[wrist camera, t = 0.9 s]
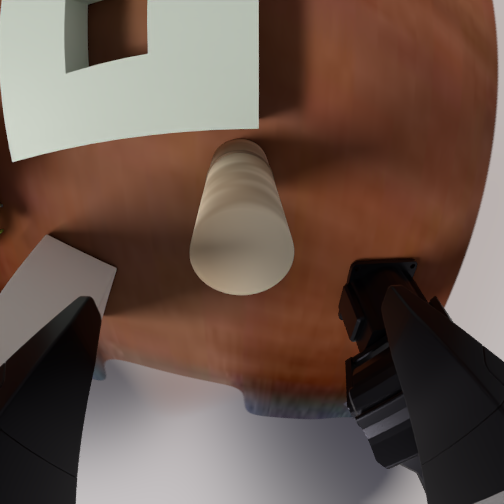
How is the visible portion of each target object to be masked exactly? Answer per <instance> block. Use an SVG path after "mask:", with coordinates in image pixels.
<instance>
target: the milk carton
mask: <svg viewBox="0 0 504 504" xmlns="http://www.w3.org/2000/svg"><path fill="white" fill-rule="evenodd" d="M116 270H117V269H116V268H115V267H113V266H111V265H109V264H107V263H105V262H102V261H100V260H98V259H96V258H94V257H92V256H90V255H88V254H85V253H83V252H81V251H79V250H77V249H75V248H73V247H71V246H69V245H67V244H65V243H63V242H61V241H59V240H57V239H55V238H53V237H51V236H49V235H45V236H44V238H43V239H42V240H41V241H40V242H39V243H38V245H37V246H36V247H35V248H34V249H33V251H32V252H31V253H30V254H29V256H28V257H27V258H26V259H25V261H24V262H23V263H22V265H21V266H20V267H19V268H18V270H17V271H16V272H15V274H14V275H13V276H12V278H11V279H10V281H9V282H8V283H7V285H6V286H5V287H4V289H3V290H2V292H1V293H0V366H1V365H2V364H3V363H6V360H8V359H9V358H10V357H11V356H12V355H13V354H14V353H15V352H16V351H17V350H18V349H19V348H20V347H21V346H23V345H24V344H25V343H26V342H27V341H28V340H29V339H30V338H31V337H32V336H34V335H35V334H36V333H37V332H38V331H39V330H40V329H41V328H43V327H44V326H45V325H46V324H47V323H48V322H49V321H51V320H52V319H53V318H54V317H55V316H56V315H58V314H59V313H60V312H61V311H62V310H63V309H65V308H66V307H67V306H68V305H69V304H71V303H72V302H73V301H74V300H75V299H77V298H78V297H79V296H91V297H92V298H93V299H94V301H95V304H96V306H97V308H98V310H99V312H100V315H101V320H102V317H103V314H104V311H105V307H106V303H107V300H108V296H109V293H110V290H111V286H112V283H113V280H114V277H115V274H116Z"/></svg>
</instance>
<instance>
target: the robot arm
mask: <svg viewBox="0 0 504 504" xmlns="http://www.w3.org/2000/svg"><path fill="white" fill-rule="evenodd" d="M356 267H358V268H357V269H355V268H356ZM416 267H417V262H416V261H415V260H414V259H400V260H378V261H357V262H354V263H352V264H351V266H350V270H349V274H348V279H347V283H346V284H345V286H344V287H343V291H342V295H341V299H340V303H339V313H338V316H339V318H340V320H343V321H344V324H345V327H346V330H347V333H348V336H349V339H350V340H351V341H352V342H355V341H356V343H357V346H358V349H359V352H360V353H359V354H357V355H355V356H354V357H350V358H349V359H347V360H346V361H345V364H346V389H347V407H348V409H349V411H350V413H351V415H352V416H353V418H354V420H355V421H356V423H357V424H358V425H359V426H360V427H361V428H362V429H363V431H364V433H365V435H366V437H367V438H368V440H369V443H370V445H371V448H372V450H373V453H374V456H375V458H376V461H377V462H379V463H380V464H381V465H382V466H384V467H385V468H386V469H390V468H392V467H395V466H397V465H399V464H400V465H402V466H404V467H406V468H408V469H410V470H412V471H414V472H416V473H417V475H418V477H419V479H420V481H421V483H422V486H423V488H424V490H425V493H426V496H427V502H428V504H504V362H503V361H502V360H501V359H499V358H498V357H497V356H496V355H494V354H493V353H492V352H491V351H489V350H488V349H487V348H486V347H484V346H482V344H481V343H479V342H478V341H477V340H475V339H474V338H473V337H472V336H470V335H469V334H468V333H466V332H465V331H464V330H463V329H461V328H460V327H458V326H457V325H456V324H455V323H453V321H452V319H451V318H450V316H449V315H448V313H447V312H446V310H445V309H444V307H443V306H442V304H441V303H440V301H439V300H438V299H437V297H436V296H434V297H433V298H432V299H431V300H430V302H429V303H428V302H427V300H426V298H425V297H424V295H423V294H422V292H421V291H420V289H419V287H418V286H417V284H416V283H415V281H414V280H413V275H414V273H415V270H416ZM100 328H101V315H100V312H99V310H98V308H97V306H96V304H95V301H94V299H93V298H92V297H91V296H79V297H78V298H77V299H75V300H74V301H73V302H72V303H71V304H69V305H68V306H67V307H66V308H65V309H63V310H62V311H61V312H60V313H59V314H58V315H56V316H55V317H54V318H53V319H52V320H51V321H49V322H48V323H47V324H46V325H45V326H44V327H43V328H41V329H40V330H39V331H38V332H37V333H36V334H35V335H34V336H32V337H31V338H30V339H29V340H28V341H27V342H26V343H25V344H24V345H23V346H21V347H20V348H19V349H18V350H17V351H16V352H15V353H14V354H13V355H12V356H11V357H10V358H9V359H8V360H6V363H3V364H2V365H1V366H0V504H76V487H77V473H78V462H79V453H80V445H81V438H82V431H83V424H84V418H85V412H86V407H87V401H88V396H89V391H90V386H91V381H92V377H93V372H94V367H95V362H96V355H97V348H98V341H99V334H100Z"/></svg>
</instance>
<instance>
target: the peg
mask: <svg viewBox="0 0 504 504" xmlns="http://www.w3.org/2000/svg"><path fill="white" fill-rule="evenodd" d="M293 258H294V245H293V241H292V237H291V234H290V231H289V227H288V224H287V221H286V217H285V214H284V211H283V208H282V204H281V201H280V198H279V195H278V191H277V188H276V185H275V182H274V176H273V173H272V170H271V168H270V166H269V163H268V160H267V157H266V155H265V153H264V151H263V150H262V148H261V147H260V146H259V145H257V144H256V143H254V142H252V141H250V140H247V139H233V140H230V141H227V142H225V143H224V144H222V145H221V146H220V147H219V148H218V149H217V150H216V152H215V153H214V155H213V158H212V162H211V165H210V168H209V170H208V173H207V176H206V184H205V187H204V191H203V195H202V199H201V203H200V207H199V211H198V215H197V219H196V223H195V227H194V231H193V236H192V240H191V244H190V261H191V264H192V267H193V269H194V271H195V272H196V274H197V275H198V277H199V278H200V279H201V280H202V281H203V282H204V283H206V284H207V285H208V286H210V287H212V288H213V289H215V290H218V291H220V292H223V293H227V294H232V295H250V294H256V293H259V292H262V291H265V290H267V289H269V288H271V287H273V286H274V285H276V284H277V283H278V282H280V281H281V280H282V279H283V278H284V277H285V275H286V274H287V273H288V271H289V269H290V267H291V265H292V262H293Z"/></svg>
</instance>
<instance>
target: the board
mask: <svg viewBox="0 0 504 504" xmlns="http://www.w3.org/2000/svg"><path fill="white" fill-rule="evenodd" d="M98 1H102V0H2V4H1V15H0V84H1V96H2V105H3V113H4V120H5V127H6V133H7V138H8V144H9V149H10V154H11V158H12V162H15V161H19V160H23V159H26V158H30V157H34V156H38V155H42V154H46V153H50V152H54V151H59V150H63V149H68V148H73V147H77V146H83V145H88V144H93V143H99V142H105V141H111V140H117V139H124V138H131V137H139V136H147V135H156V134H165V133H176V132H188V131H203V130H224V129H259V0H148V8H147V29H148V54H144V55H138V56H133V57H128V58H123V59H119V60H114V61H110V62H106V63H102V64H98V65H94V66H90V67H89V64H88V5H89V4H92V3H95V2H98Z"/></svg>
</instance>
